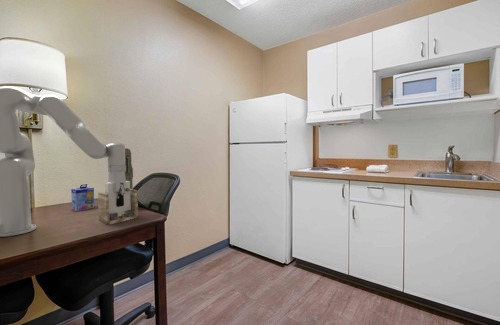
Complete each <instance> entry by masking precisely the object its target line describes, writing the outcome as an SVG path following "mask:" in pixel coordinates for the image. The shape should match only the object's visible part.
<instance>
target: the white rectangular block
mask: <svg viewBox="0 0 500 325" xmlns="http://www.w3.org/2000/svg"><path fill="white" fill-rule="evenodd" d="M118 192H121V190H120V191H118ZM104 193H105V194H108V195H109V217H110V214H113V213H118V215H122V214H125V211H128V210H131V201H130V181H126V191H125V194H124V206H120V207H117V205H116V199H117V193H114V192H113V183H111V182H108V181H107V182H104ZM119 194H120V193H119Z"/></svg>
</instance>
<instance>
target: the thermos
mask: <svg viewBox="0 0 500 325" xmlns="http://www.w3.org/2000/svg"><path fill="white" fill-rule="evenodd" d="M125 163H126V164H125V165H126V171H125V179H126V181H130V189H133V190H134V188H133V187H134V186H133V184H134V183H133V178H134V168H133V165H132V151H131V150H130V148H125Z"/></svg>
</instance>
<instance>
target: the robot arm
mask: <svg viewBox="0 0 500 325" xmlns="http://www.w3.org/2000/svg"><path fill="white" fill-rule="evenodd" d="M16 111H21V112H24V113H30V114H36V115H41V116H46V117H47V116H48V118H50V120H52V121H53V122H54V123H55V125H56V126H58V127H59V128H60V129H61V130H62V131H63V132H64V133H65V134H66V136H67V137H69V138H70V140H72V142H74V144H75V145H76V146H78V148H79V149H81V151H83V152H84V154H86V155H87V156H88V157H89V158H90V159H92V160H93V159H94V160H99V159H104V158H107V172H108V178H107V179H108V181H107V183H108V182H111V183H113V192H114V193H117V199H116V205H117V207H120V206H124V194H125V191H126V179H125V171H126V165H125V164H126V163H125V149H126V146H125V144H124V143H101V142H100V141H99V140H98V139H97V137H96V136H95V135H94V134H93V133H92V132H91V131H90V130H89V129H88V128H87V126H86V124H85V122H84V121H83V120H82V119H81V118H80V117H79V116H78V115H77V114H76V113H75V112H74V111H73V110H72V109H71V108H70V107H69V106H68V104H67V103H66V102H65V101H64V99H63V100H62V98H60V97H58V96H57V95H54V94H48V95H43V96H42V95H37V94H33V93H29V92H27V91H25V90H23V89H21V88H18V87H15V86H3V87H0V153H1V154H4V158H1V159H0V237H4V238H5V237H13V236H17V235H22V234H26V233H29V232H33V231H34V230H37V225H36V224H33V223H32V211H31V199H30V198H31V195H30V186H29V181H28V177H29V176H30V175H32V174H33V173H34V171H35V169H36V162H35V155H34V150H33V143H32V142H31V139H30V138H29V137H28V136H27V135H26V134H25V133H22V132H21V129H20V123H19V120H18V116H17V113H16ZM120 190H121V192H118V191H120ZM119 193H120V194H119Z"/></svg>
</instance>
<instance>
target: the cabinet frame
mask: <svg viewBox="0 0 500 325" xmlns="http://www.w3.org/2000/svg"><path fill="white" fill-rule="evenodd" d="M138 198H139V197H138V190H137V189H134V188H133V189H130V201H131V210H128V211H125V214H122V215H118V213H113V214H110V217H109V195H108V194H105V192H102V191H98V192H97V202H98V205H97V207H98V221H99V222H100V223H101V224H102V223H103V224H104V225H106V226H108V225H113V224H117V223H122V222H127V221H130V219H131V220H134V218H135V219H138V218H139V205H138V204H139V203H138V202H139V201H138ZM126 220H127V221H126Z"/></svg>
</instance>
